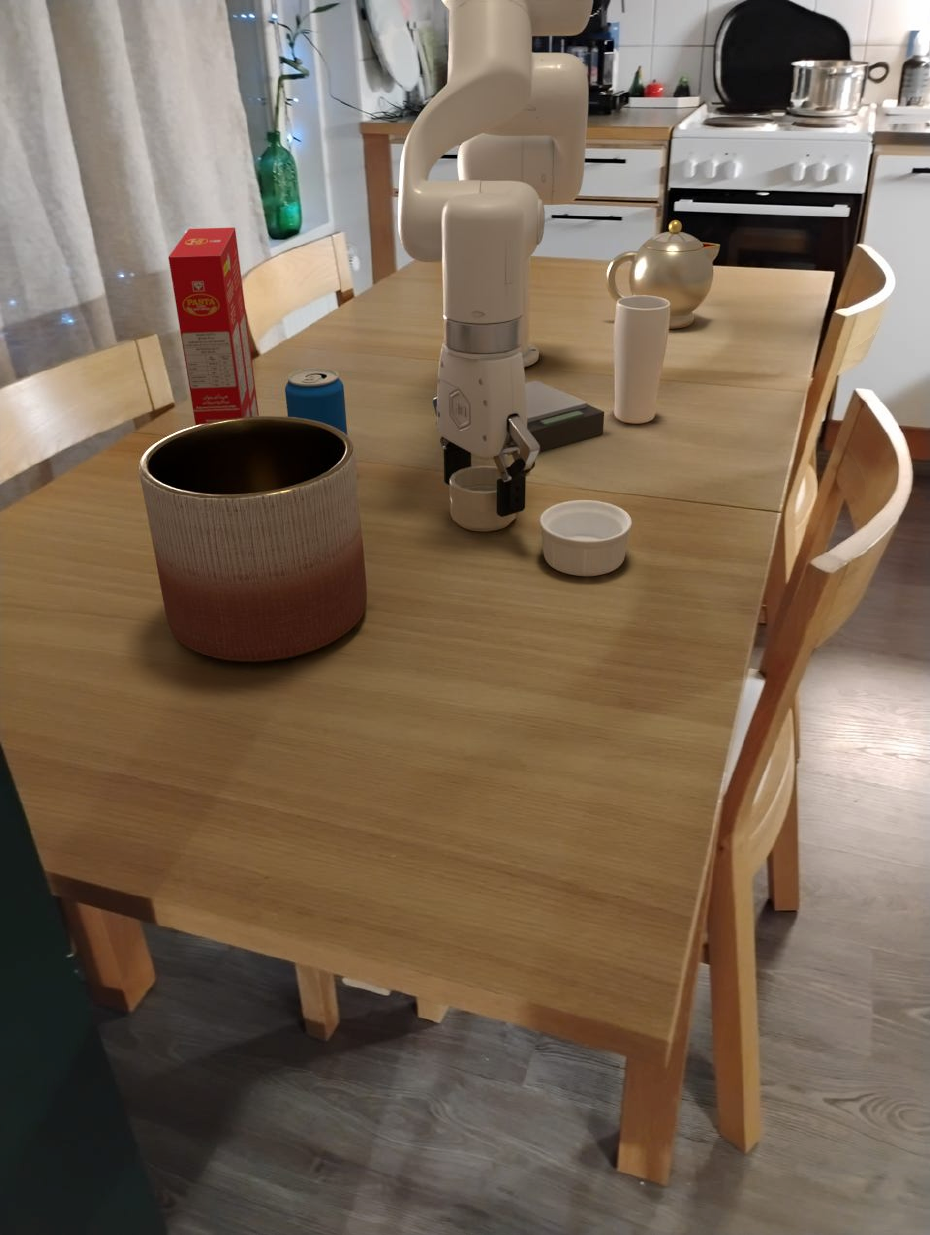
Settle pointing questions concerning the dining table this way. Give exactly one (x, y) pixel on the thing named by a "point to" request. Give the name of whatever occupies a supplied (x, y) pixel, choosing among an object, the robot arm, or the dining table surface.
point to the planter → (256, 536)
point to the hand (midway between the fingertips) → (483, 496)
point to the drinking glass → (639, 355)
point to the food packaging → (213, 324)
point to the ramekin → (585, 537)
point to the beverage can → (317, 397)
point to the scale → (559, 417)
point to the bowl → (476, 499)
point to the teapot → (669, 272)
